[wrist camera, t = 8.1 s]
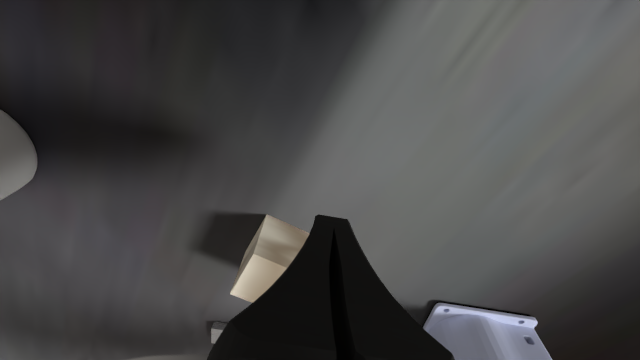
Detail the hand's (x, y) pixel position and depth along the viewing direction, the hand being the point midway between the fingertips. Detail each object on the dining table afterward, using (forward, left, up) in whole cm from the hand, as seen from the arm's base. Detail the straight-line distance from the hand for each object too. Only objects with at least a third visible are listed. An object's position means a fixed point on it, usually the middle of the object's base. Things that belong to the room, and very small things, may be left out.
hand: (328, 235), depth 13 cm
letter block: (+3, +10, -10) cm, 14 cm away
